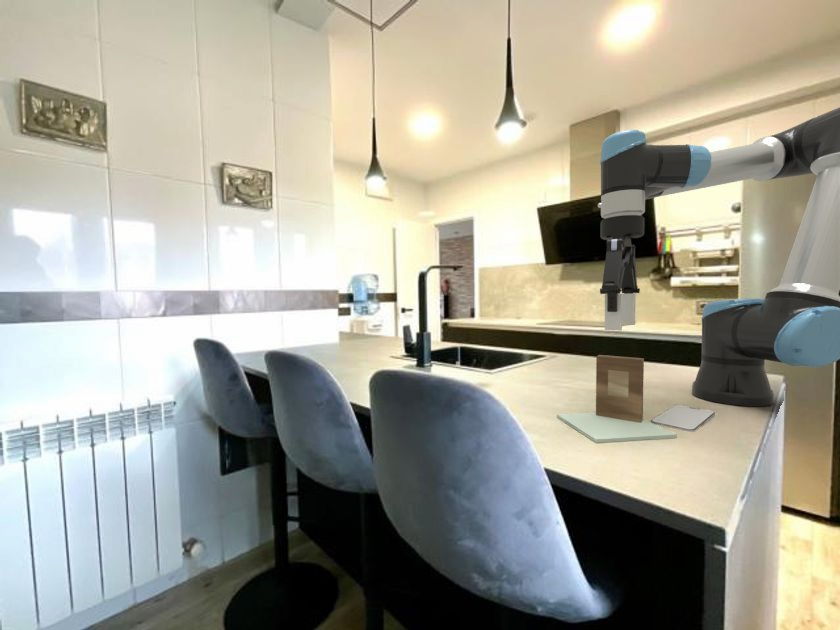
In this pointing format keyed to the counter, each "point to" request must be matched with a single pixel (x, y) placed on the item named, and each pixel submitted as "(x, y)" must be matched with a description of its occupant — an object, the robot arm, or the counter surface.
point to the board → (619, 387)
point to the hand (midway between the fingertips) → (620, 327)
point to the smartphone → (684, 418)
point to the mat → (613, 428)
